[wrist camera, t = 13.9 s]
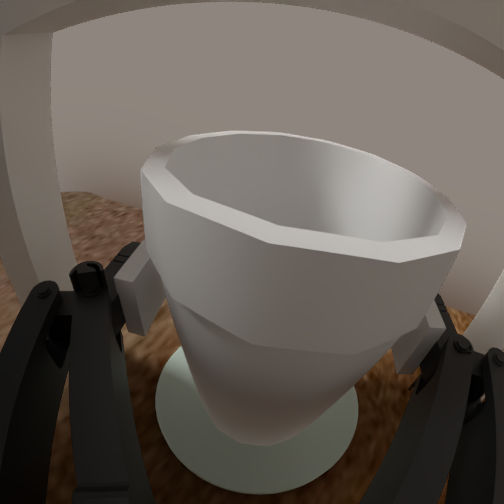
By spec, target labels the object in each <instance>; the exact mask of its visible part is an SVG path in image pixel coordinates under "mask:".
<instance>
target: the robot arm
mask: <svg viewBox="0 0 504 504" xmlns="http://www.w3.org/2000/svg"><path fill="white" fill-rule="evenodd" d="M69 277H70V280H71V283H72V286H73V289H74V291H60V289H59V287H58V284H57V283H56V282H54V281H51V280H48V281H43V282H40V283H38V284H37V285H36V286H34V287H33V289H32V290H31V291H30V293H29V295H28V297H27V299H26V300H25V302H24V304H23V306H22V308H21V310H20V312H19V314H18V316H17V318H16V320H15V322H14V324H13V326H12V328H11V330H10V332H9V335H8V337H7V339H6V341H5V343H4V346H3V348H2V350H1V353H0V504H46V495H47V483H48V473H49V464H50V457H51V450H52V443H53V437H54V431H55V426H56V421H57V416H58V411H59V406H60V402H61V398H62V393H63V389H64V385H65V381H66V377H67V374H68V370H69V407H70V425H71V438H72V448H73V456H74V464H75V471H76V477H77V487H76V488H75V490H74V491H73V493H72V504H157V503H156V501H155V499H154V497H153V494H152V491H151V487H150V484H149V480H148V477H147V473H146V469H145V466H144V462H143V458H142V453H141V449H140V445H139V440H138V436H137V431H136V426H135V421H134V416H133V410H132V405H131V399H130V392H129V386H128V379H127V371H126V363H125V354H124V345H123V336H122V333H121V329H122V327H123V325H124V324H125V323H126V326H127V329H128V332H131V333H134V334H138V335H141V336H146V334H147V332H148V330H149V328H150V326H151V324H152V322H153V320H154V319H155V317H156V315H157V313H158V311H159V309H160V307H161V305H162V303H163V301H164V300H165V298H166V295H165V291H164V288H163V284H162V280H161V277H160V275H159V273H158V271H157V269H156V268H155V266H154V264H153V262H152V260H151V258H150V256H149V254H148V252H147V250H146V241H145V239H144V240H143V241H142V242H141V243H139V242H131V243H129V244H128V245H126V246H124V247H123V248H122V249H121V251H120V252H119V253H118V255H116V256H115V258H114V259H113V261H111V262H110V264H109V265H108V266H107V267H106V268H105V270H103V266H102V265H101V264H100V263H98V262H95V261H86V262H83V263H80V264H78V265H76V266H75V267H74V268H73V269H72V270H71V271H70V273H69ZM391 348H392V352H393V357H394V362H395V367H396V372H397V374H413V373H414V372H415V370H416V369H417V368H418V367H419V365H420V369H421V374H420V375H419V376H418V378H417V379H416V380H415V381H414V382H413V384H412V385H411V386H410V387H409V389H408V390H411V389H412V388H413V387H414V389H413V392H412V394H411V397H410V400H409V402H408V405H407V408H406V410H405V413H404V415H403V418H402V420H401V423H400V425H399V427H398V430H397V432H396V434H395V436H394V439H393V441H392V443H391V445H390V447H389V449H388V451H387V453H386V456H385V458H384V460H383V462H382V463H381V465H380V467H379V469H378V471H377V473H376V475H375V477H374V479H373V480H372V482H371V484H370V486H369V487H368V489H367V491H366V493H365V494H364V496H363V498H362V499H361V501H360V502H359V504H437V503H438V500H439V498H440V496H441V493H442V490H443V488H444V485H445V482H446V480H447V477H448V474H449V481H448V487H447V494H446V499H445V504H504V352H503V351H502V350H500V349H498V348H495V347H492V348H490V349H489V350H488V352H487V353H486V354H485V355H484V354H481V353H479V352H476V351H474V349H473V346H472V344H471V343H470V341H469V340H468V339H467V338H466V337H464V336H463V335H460V334H457V332H456V329H455V327H454V325H453V322H452V320H451V318H450V315H449V313H448V312H447V309H446V306H444V302H443V300H442V298H441V296H440V295H439V294H437V295H436V297H435V299H434V301H433V302H432V304H431V306H430V308H429V309H428V311H427V313H426V314H425V316H424V318H423V319H422V321H421V322H420V324H419V326H418V327H417V328H416V329H414V330H412V331H410V332H408V333H405V334H403V335H401V336H400V338H399V339H398V340H397V341H396V342H395V343H394V344H393V346H392V347H391ZM484 394H485V401H484V402H483V403H481V397H482V396H483V395H484ZM449 471H450V473H449Z"/></svg>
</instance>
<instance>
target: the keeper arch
mask: <svg viewBox="0 0 504 504" xmlns="http://www.w3.org/2000/svg"><path fill="white" fill-rule="evenodd" d="M224 1H225V2H233V1H234V2H262V3H275V4H286V5H294V6H302V7H309V8H316V9H322V10H327V11H332V12H337V13H342V14H347V15H351V16H355V17H359V18H363V19H367V20H371V21H375V22H377V23H381V24H384V25H387V26H391V27H394V28H397V29H400V30H403V31H405V32H408V33H411V34H414V35H417V36H419V37H421V38H424V39H427V40H429V41H431V42H434V43H436V44H438V45H441V46H443V47H445V48H447V49H450V50H452V51H454V52H456V53H458V54H460V55H462V56H464V57H466V58H468V59H470V60H472V61H474V62H475V63H477V64H479V65H481V66H483V67H485V68H486V69H488V70H490V71H491V72H493V73H495V74H496V75H498V76H500V77H501V78H503V79H504V0H0V257H1V260H2V262H3V265H4V267H5V270H6V272H7V275H8V277H9V279H10V282H11V284H12V286H13V288H14V291H15V293H16V295H17V297H18V299H19V301H20V303H21V305H22V306H23V304H24V302H25V300H26V299H27V297H28V295H29V293H30V291H31V290H32V289H33V287H34V286H36V285H37V284H38V283H40V282H43V281H48V280H51V281H54V282H56V283H57V284H58V287H59V289H60V291H74V289H73V286H72V283H71V280H70V277H69V273H70V271H71V270H72V269H73V268H74V267H75V266H76V265H77V263H76V260H75V256H74V252H73V249H72V245H71V241H70V237H69V233H68V228H67V224H66V219H65V215H64V210H63V205H62V199H61V194H60V188H59V182H58V176H57V170H56V162H55V153H54V144H53V133H52V118H51V94H50V92H51V91H50V90H51V88H50V79H51V78H50V77H51V74H50V73H51V50H52V37H53V32H56V31H58V30H62V29H64V28H67V27H70V26H74V25H77V24H80V23H83V22H87V21H90V20H94V19H98V18H101V17H105V16H109V15H114V14H118V13H123V12H128V11H133V10H138V9H144V8H151V7H157V6H165V5H174V4H184V3H196V2H197V3H198V2H224ZM463 336H464V337H466V338H467V339H468V340H469V341H470V343H471V344H472V346H473V349H474V351H476V352H479V353H481V354H484V355H485V354H486V353H487V352H488V350H489V349H490V348H492V347H495V348H498V349H500V350H502V351H503V352H504V269H503V271H502V273H501V275H500V277H499V279H498V280H497V282H496V284H495V285H494V287H493V289H492V291H491V292H490V294H489V296H488V297H487V299H486V301H485V302H484V304H483V305H482V307H481V309H480V310H479V312H478V313H477V315H476V316H475V318H474V319H473V321H472V322H471V324H470V325H469V327H468V328H467V329H466V331H465V332H464V334H463ZM484 398H485V394H484V395H483V396H482V397H481V401H482V400H483V399H484ZM155 408H156V414H157V420H158V423H159V426H160V429H161V432H162V434H163V436H164V438H165V440H166V442H167V444H168V445H169V447H170V449H171V450H172V452H173V453H174V454H175V456H176V457H177V458H178V460H179V461H180V462H181V463H182V464H183V465H185V466H186V467H187V468H188V469H189V470H190V471H191V472H193V473H194V474H195V475H197V476H198V477H200V478H201V479H203V480H205V481H207V482H209V483H211V484H213V485H215V486H218V487H220V488H223V489H226V490H229V491H233V492H238V493H243V494H255V495H262V494H275V493H280V492H285V491H289V490H292V489H295V488H298V487H301V486H303V485H305V484H307V483H309V482H311V481H313V480H315V479H316V478H318V477H319V476H320V475H322V474H323V473H325V472H326V471H327V470H329V469H330V468H331V467H332V466H333V465H334V464H335V463H336V462H337V461H338V460H339V459H340V458H341V456H342V455H343V454H344V452H345V451H346V450H347V448H348V446H349V444H350V442H351V440H352V438H353V436H354V433H355V430H356V426H357V420H358V399H357V393H356V390H355V387H354V386H353V387H352V388H351V389H350V390H349V391H348V392H346V393H345V394H344V395H343V396H342V397H341V398H340V399H339V400H338V401H337V402H336V403H334V404H333V405H332V406H331V407H330V408H329V409H328V410H327V411H325V412H324V413H323V414H322V415H321V416H320V417H318V418H317V419H316V420H315V421H314V422H312V423H311V424H310V425H309V426H307V427H306V428H305V429H304V430H302V431H301V432H300V433H299V434H297V435H296V436H294V437H293V438H291V439H289V440H286V441H283V442H280V443H277V444H273V445H270V446H259V445H250V444H242V443H239V442H237V441H236V440H234V439H232V438H231V437H229V436H227V435H226V434H224V433H222V432H221V431H219V430H218V429H217V428H216V426H215V424H214V423H213V421H212V420H211V418H210V417H209V415H208V413H207V412H206V410H205V407H204V406H203V404H202V401H201V398H200V396H199V393H198V391H197V388H196V385H195V383H194V380H193V377H192V375H191V372H190V369H189V366H188V363H187V361H186V358H185V355H184V352H183V349H182V346H181V347H179V348H178V349H177V351H176V352H175V353H174V354H173V355H172V356H171V357H170V359H169V360H168V362H167V363H166V365H165V367H164V369H163V371H162V373H161V375H160V378H159V381H158V384H157V389H156V396H155Z"/></svg>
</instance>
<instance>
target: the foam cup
mask: <svg viewBox="0 0 504 504" xmlns="http://www.w3.org/2000/svg"><path fill="white" fill-rule="evenodd" d="M140 172H141V191H142V205H143V206H142V207H143V220H144V231H145V241H146V250H147V252H148V254H149V256H150V258H151V260H152V262H153V264H154V266H155V268H156V269H157V271H158V273H159V275H160V277H161V280H162V284H163V288H164V291H165V295H166V298H167V301H168V305H169V308H170V312H171V315H172V318H173V321H174V324H175V328H176V331H177V334H178V337H179V340H180V343H181V346H182V349H183V352H184V355H185V358H186V361H187V363H188V366H189V369H190V372H191V375H192V377H193V380H194V383H195V385H196V388H197V391H198V393H199V396H200V398H201V401H202V404H203V406H204V407H205V410H206V412H207V413H208V415H209V417H210V418H211V420H212V421H213V423H214V424H215V426H216V428H217V429H218V430H219V431H221V432H222V433H224V434H226V435H227V436H229V437H231V438H232V439H234V440H236V441H237V442H239V443H242V444H250V445H259V446H270V445H273V444H277V443H280V442H283V441H286V440H289V439H291V438H293V437H294V436H296V435H297V434H299V433H300V432H301V431H302V430H304V429H305V428H306V427H307V426H309V425H310V424H311V423H312V422H314V421H315V420H316V419H317V418H318V417H320V416H321V415H322V414H323V413H324V412H325V411H327V410H328V409H329V408H330V407H331V406H332V405H333V404H334V403H336V402H337V401H338V400H339V399H340V398H341V397H342V396H343V395H344V394H345V393H346V392H348V391H349V390H350V389H351V388H352V387H353V386H354V385H355V384H356V383H357V382H358V381H359V380H360V379H361V378H362V377H363V376H364V375H365V374H366V373H367V372H368V371H369V370H370V369H371V368H372V367H373V366H374V365H375V364H376V363H377V362H378V361H379V360H380V359H381V358H382V356H383V355H384V354H385V353H386V352H387V351H388V350H389V349H390V348H391V347H392V346H393V344H394V343H395V342H396V341H397V340H398V339H399V338H400V336H401V335H403V334H405V333H408V332H410V331H412V330H414V329H416V328H417V327H418V326H419V324H420V322H421V321H422V319H423V318H424V316H425V314H426V313H427V311H428V309H429V308H430V306H431V304H432V302H433V301H434V299H435V297H436V295H437V294H438V292H439V290H440V288H441V286H442V284H443V282H444V281H445V278H446V277H447V275H448V273H449V271H450V269H451V267H452V265H453V263H454V261H455V258H456V257H457V255H458V252H459V250H460V247H461V244H462V240H463V237H464V233H465V229H466V225H467V223H466V221H465V220H464V219H463V217H462V216H461V215H460V213H459V212H458V210H457V209H456V207H455V206H454V205H453V204H452V202H451V201H450V200H449V198H448V197H447V196H446V195H444V194H443V193H442V192H440V191H439V190H438V189H436V188H435V187H433V186H432V185H431V184H429V183H428V182H426V181H425V180H423V179H422V178H420V177H419V176H418V175H416V174H414V173H412V172H410V171H408V170H406V169H404V168H402V167H400V166H398V165H396V164H394V163H391V162H389V161H387V160H385V159H383V158H380V157H378V156H376V155H373V154H370V153H367V152H364V151H361V150H358V149H355V148H351V147H348V146H345V145H341V144H338V143H334V142H331V141H326V140H321V139H316V138H311V137H305V136H299V135H293V134H286V133H279V132H260V131H224V132H214V133H206V134H198V135H190V136H187V137H184V138H181V139H178V140H176V141H173V142H170V143H168V144H165V145H162V146H160V147H157V148H155V150H154V151H153V152H152V154H151V155H150V157H149V158H148V159H147V161H146V162H145V163H144V165H143V166H142V168H141V170H140Z"/></svg>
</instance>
